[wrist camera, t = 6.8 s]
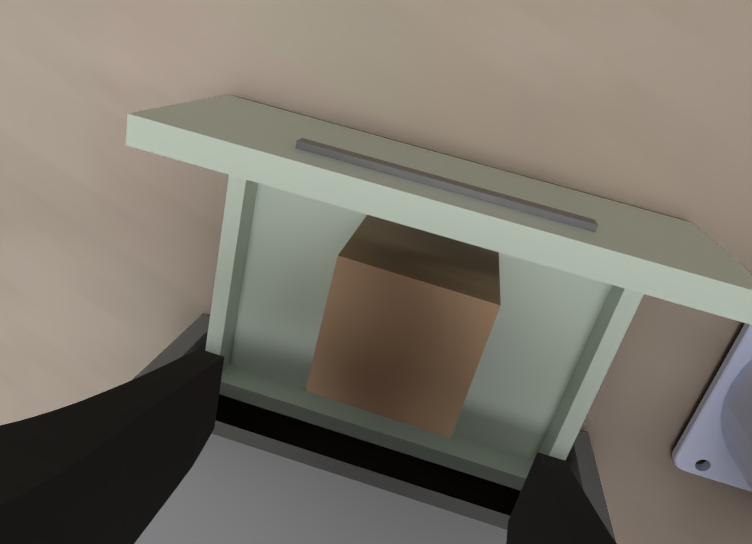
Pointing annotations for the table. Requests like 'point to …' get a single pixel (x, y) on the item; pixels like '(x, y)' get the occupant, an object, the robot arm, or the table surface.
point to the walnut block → (405, 324)
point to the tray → (442, 217)
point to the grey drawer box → (318, 493)
